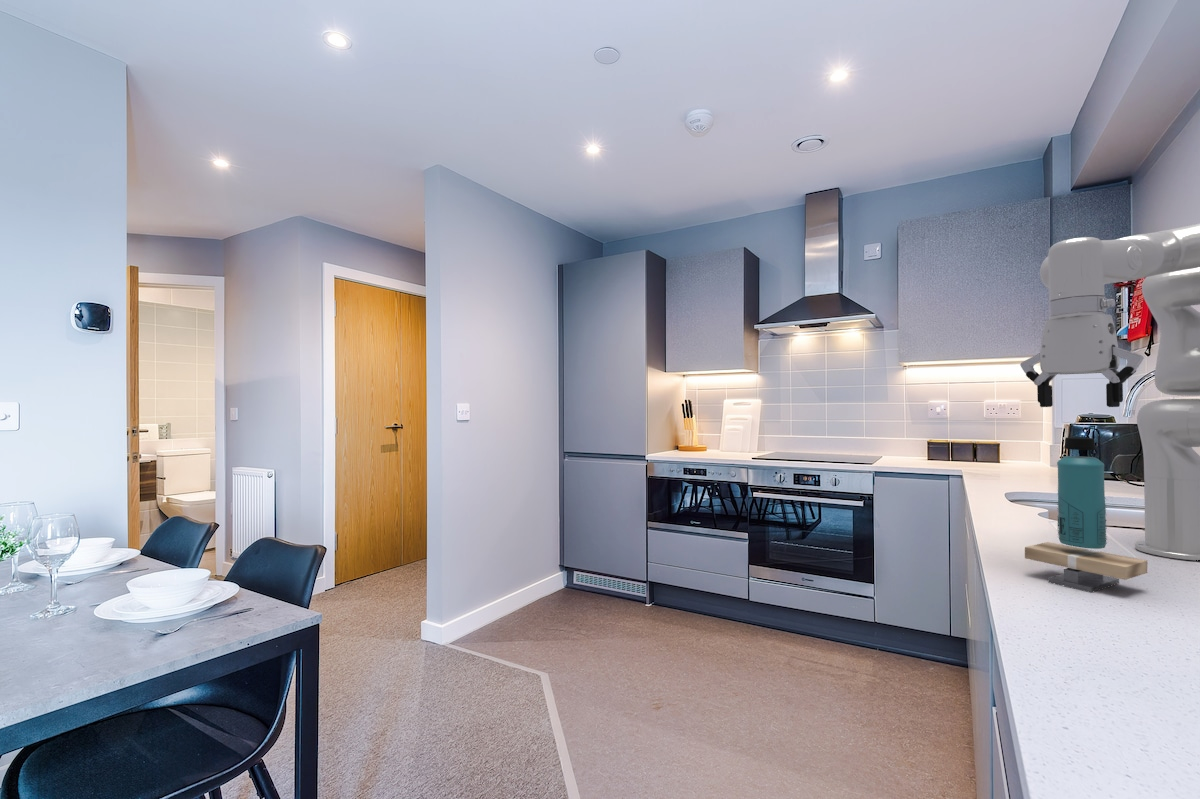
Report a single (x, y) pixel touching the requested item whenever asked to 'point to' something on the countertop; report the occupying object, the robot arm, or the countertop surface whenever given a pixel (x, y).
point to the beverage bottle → (1081, 497)
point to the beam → (1087, 560)
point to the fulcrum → (1083, 580)
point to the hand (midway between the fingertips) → (1078, 406)
